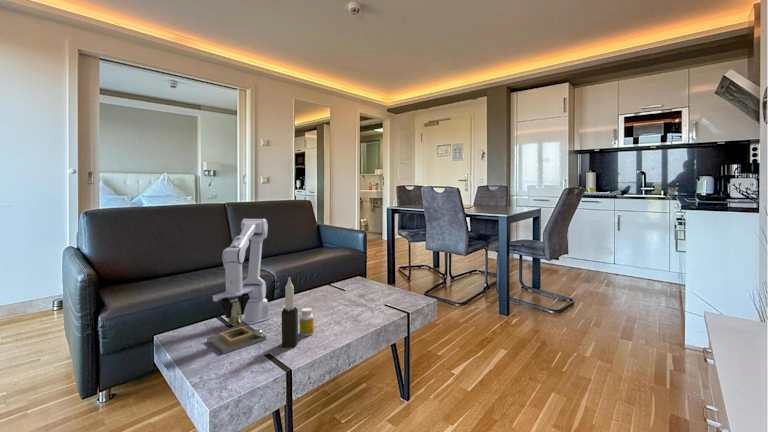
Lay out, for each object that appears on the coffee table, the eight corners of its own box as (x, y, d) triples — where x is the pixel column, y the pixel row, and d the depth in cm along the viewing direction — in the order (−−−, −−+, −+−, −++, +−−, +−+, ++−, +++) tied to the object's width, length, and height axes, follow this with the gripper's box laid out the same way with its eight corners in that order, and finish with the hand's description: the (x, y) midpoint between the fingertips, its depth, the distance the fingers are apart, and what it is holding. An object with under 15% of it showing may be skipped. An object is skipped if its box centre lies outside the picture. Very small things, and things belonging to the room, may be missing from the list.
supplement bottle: (299, 336, 133) (299, 312, 132) (299, 331, 138) (299, 307, 137) (314, 335, 134) (314, 311, 133) (313, 330, 139) (313, 306, 139)
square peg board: (248, 329, 139) (248, 321, 139) (266, 339, 130) (266, 330, 129) (207, 341, 127) (206, 332, 127) (222, 354, 118) (222, 344, 118)
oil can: (238, 319, 132) (237, 294, 131) (243, 322, 128) (243, 297, 128) (226, 322, 128) (225, 297, 128) (231, 325, 125) (230, 299, 124)
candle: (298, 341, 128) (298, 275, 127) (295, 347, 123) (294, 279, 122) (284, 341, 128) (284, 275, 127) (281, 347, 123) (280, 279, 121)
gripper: (218, 285, 119) (219, 324, 120) (257, 278, 130) (258, 313, 131) (210, 282, 124) (211, 318, 125) (249, 275, 135) (249, 309, 136)
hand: (234, 315), depth 128 cm, fingers closed on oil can, 5 cm apart
